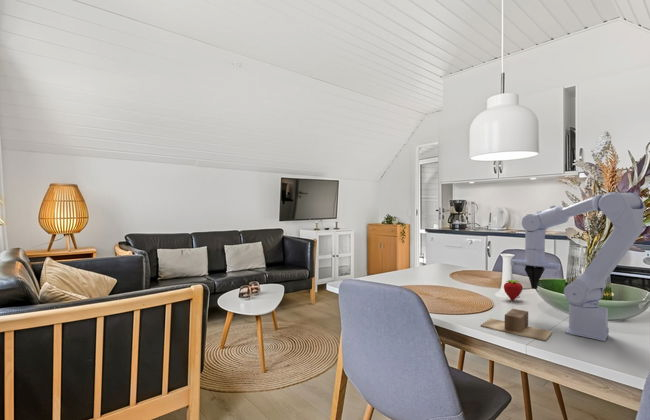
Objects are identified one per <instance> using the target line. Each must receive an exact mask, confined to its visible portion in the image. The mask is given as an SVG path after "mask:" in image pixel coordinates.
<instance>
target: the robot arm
mask: <svg viewBox="0 0 650 420" xmlns="http://www.w3.org/2000/svg"><path fill="white" fill-rule="evenodd" d="M646 208H647V207H646V205H645V203H644V201H643V199H642V198H641V196H640V195H639V194H637V193H636V192H635V193H634V192H614V191H611V192H605V193H604V194H598V195H595V196H592V197H589V198H586V199H583V200H581V201H579V202H576V203H574V204H571V205H569V206H566V207H564V206H561V205H551V206H550V207H549V208H548V209H545V210H538V211H536V213H535V214H532V213H528V214H526V215H524V217H522V218H521V219H522V220H521V225H522V228H523V229H524V230H525V233H524V234H525V236H524V240H525V243H524V244H525V247H524V249H525V250H524V252H525V253H524V256H525V257H524V259H516V258H515V259H513V258H512V259H510V266H519V267H525V268H524V271H525V273H526V275H527V277H528V279H529V282H530V286H531V289H533V290H537V289H538V287H539V286H538V285H539V282H540V279H541V277H542V275H543V273H544V272H545V269H546V270H553V271H560V270H561V263H555V262H548V261H545V260H546V259H545V257H546V254H545V253H546V252H545V251H546V249H545V243H546V240H545V239H546V234H547V233H546V231H547V229H548V228H552V227H555V226H559V225H562V224H565V223H567V222H568V221H569V219H570V218H572V217H575V216H579V215H582V214H587V213H590V212H592V211H596V212H601V213H603V214H604V216H606V217H607V218H608V220H609V221H610V222H611V224H612V226H613V228H614V229H613V231H612V232H611V234H610V236H609V237H608V238H607V239H606V240H605V242H604V244H603V245H602V247H601V248H600V250H599V251H598V252H597V254H596V255H595V256H594V258H593V259H592V260H591V262H590V264H589V265H588V267H587V268H586V269H585V271H584V272H583V273H582V274H580V275H579V276H577V277H576V278H575V279H573V281H572V282H571V283H568V284H566V286H565V287H564V288H563V295H564V297H565V299H566V300H567V301H568V327H567V328H566V330H565V333H566V334H570V335H574V336H578V337H583V338H587V339H592V340H597V341H598V340H599V341H601V342H606V341H607V338H608V335H609V331H610V330H609V320H608V319H609V316H608V315H609V313H608V312H609V311H608V308H607V307H604V306H600V305H599V303H600V301H601V300H602V299H603V298H604V294H605V293H604V290H605V289H606V287H607V283H606V281H607V280H608V278H609V277H610V276H611V274H612V273H613V272H614V270H615V269H616V267H617V266H618V265H619V263H620V262H621V261H622V260H623V258H624V257H625V256H626V254H627V253H628V252H629V250H630V249H631V248H632V246H633V245H634V243H635V242H636V241H637V240H638V238H639V237H640V236H641V234H642V233H643V231H644V212H645V210H646Z"/></svg>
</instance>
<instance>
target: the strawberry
mask: <svg viewBox="0 0 650 420" xmlns="http://www.w3.org/2000/svg"><path fill="white" fill-rule="evenodd" d="M503 290H504V293H505V294H506V296H508V298H509V299H510V301H515V300H516V299H517V298H518V297H519V296H520V295H521V293H522V291H523V285H522V284H521V282H520V281H518V280H513V278H511V279H508V280H506V282H505V283H504V284H503Z"/></svg>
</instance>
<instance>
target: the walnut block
mask: <svg viewBox="0 0 650 420" xmlns="http://www.w3.org/2000/svg"><path fill="white" fill-rule="evenodd" d="M504 321H505V329H506V330H511V331H515V332H519V333H521V332H522V331H523V330H524V329H525V328H526V327H527V326H529V311H528V310H523V309H518V308H512V309H511V310H509V311H507V313H505V314H504Z"/></svg>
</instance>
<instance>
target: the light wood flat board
mask: <svg viewBox="0 0 650 420" xmlns="http://www.w3.org/2000/svg"><path fill="white" fill-rule="evenodd" d="M480 327H483V328H486V329H491V330H495V331H499V332H503V333H506V334H507V333H508V334H512V335H515V336H521V337H525V338H530V339H533V340H538V341H542V342H547V340H548V339H549V338H550V336H551V335H552V334H553V331H552V330H547V329H544V328H543V329H542V328H538V327H534V326H529V325H528V326H527V327H526V328H525V329H524V330H523V331H522V332H521V333H519V332H515V331H511V330H506V329H505V320H500V319H496V318H493V317H491V318H490V317H489V319H487V320H486V321H484V322H483V323H482V324H480Z"/></svg>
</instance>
